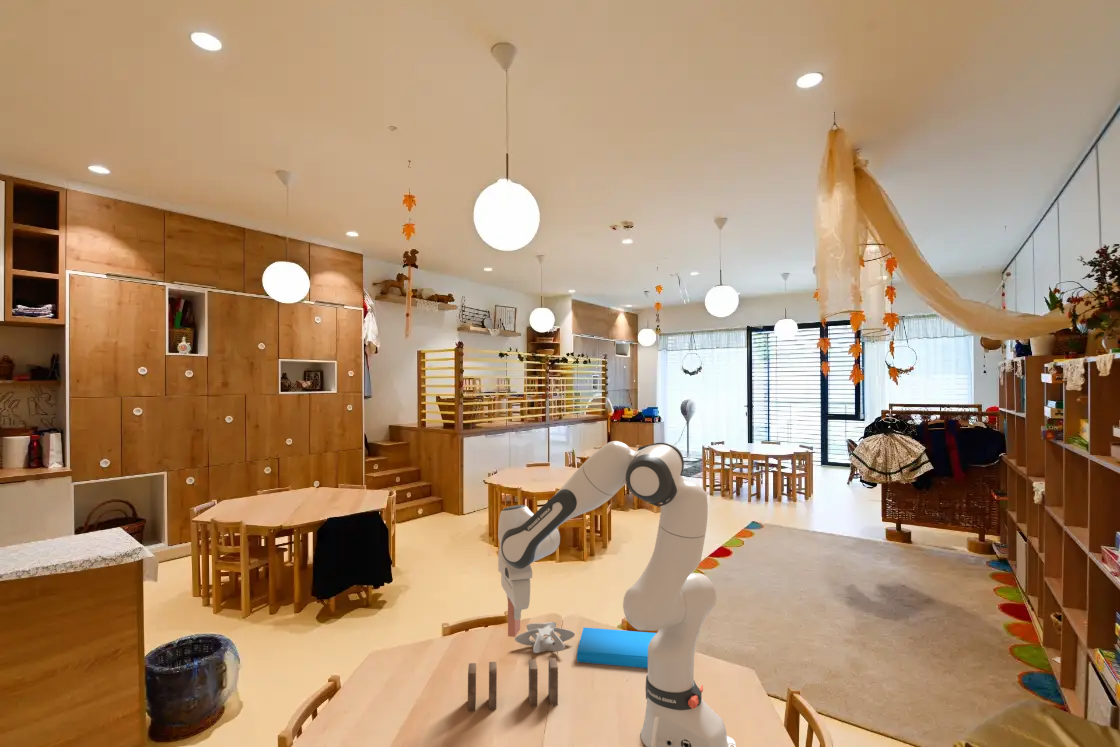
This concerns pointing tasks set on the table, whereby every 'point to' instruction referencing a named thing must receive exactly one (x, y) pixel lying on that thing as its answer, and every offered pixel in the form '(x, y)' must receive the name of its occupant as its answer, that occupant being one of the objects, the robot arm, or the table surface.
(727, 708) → the table surface
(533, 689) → the tile
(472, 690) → the tile
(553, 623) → the sculpture
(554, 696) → the tile
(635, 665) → the book
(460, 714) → the table surface
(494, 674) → the tile
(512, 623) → the tile
